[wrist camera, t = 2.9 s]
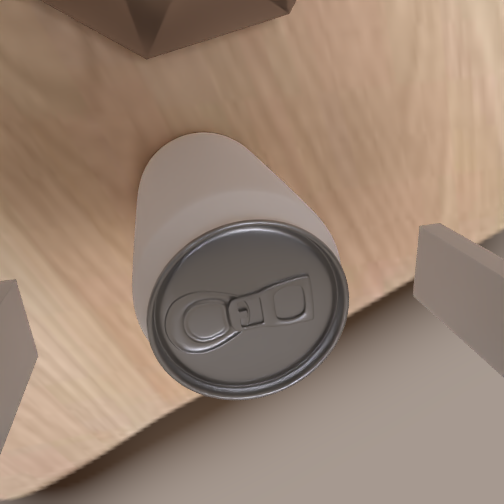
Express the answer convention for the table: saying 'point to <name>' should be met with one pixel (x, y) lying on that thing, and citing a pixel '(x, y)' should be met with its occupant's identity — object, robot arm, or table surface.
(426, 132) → the table surface
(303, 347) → the can
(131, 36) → the brown octagonal frame
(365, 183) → the table surface
